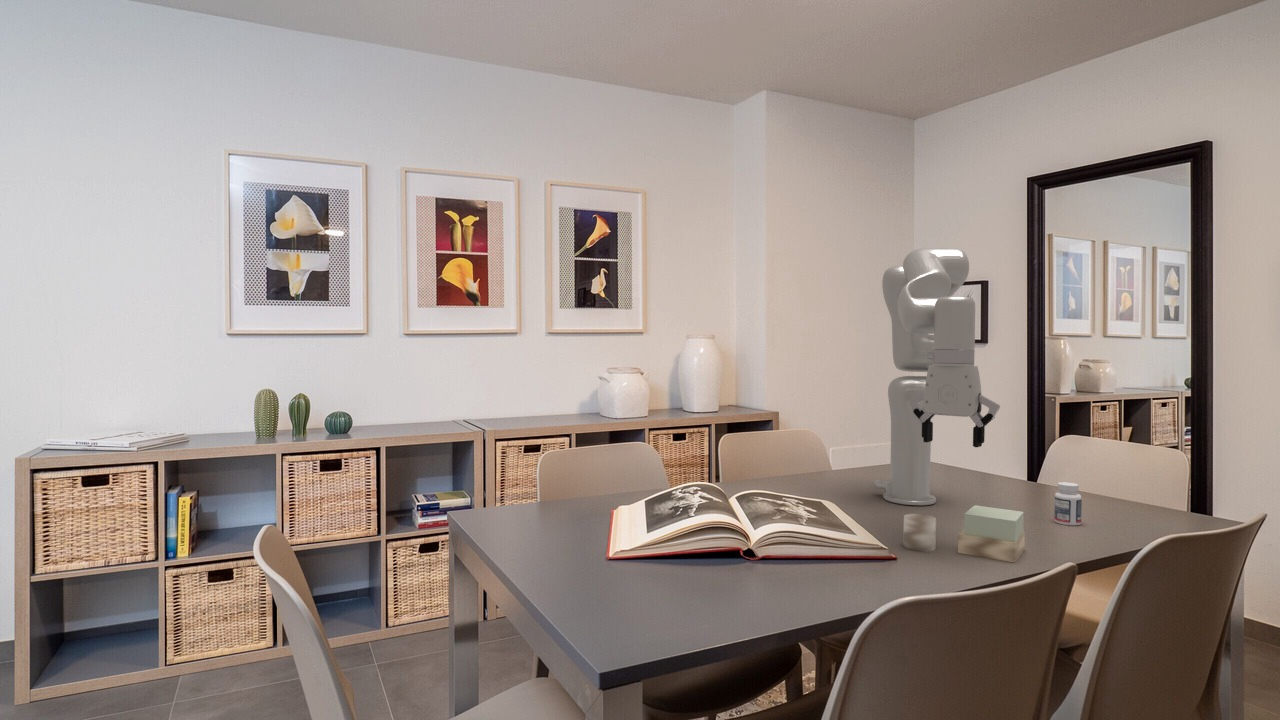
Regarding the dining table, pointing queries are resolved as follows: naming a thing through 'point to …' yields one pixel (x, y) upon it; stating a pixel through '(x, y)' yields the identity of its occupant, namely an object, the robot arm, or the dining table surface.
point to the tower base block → (991, 547)
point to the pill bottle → (1068, 504)
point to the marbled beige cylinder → (919, 532)
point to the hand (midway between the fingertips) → (952, 444)
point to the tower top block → (994, 523)
